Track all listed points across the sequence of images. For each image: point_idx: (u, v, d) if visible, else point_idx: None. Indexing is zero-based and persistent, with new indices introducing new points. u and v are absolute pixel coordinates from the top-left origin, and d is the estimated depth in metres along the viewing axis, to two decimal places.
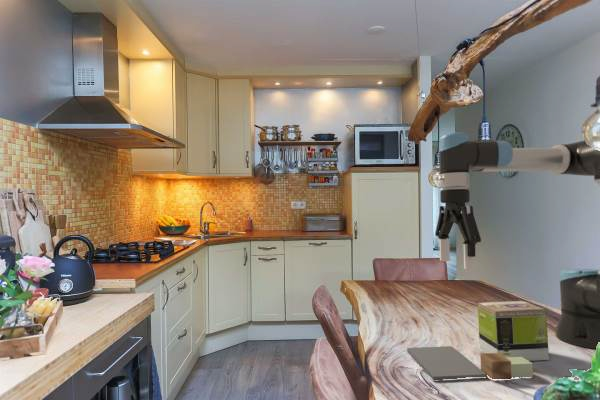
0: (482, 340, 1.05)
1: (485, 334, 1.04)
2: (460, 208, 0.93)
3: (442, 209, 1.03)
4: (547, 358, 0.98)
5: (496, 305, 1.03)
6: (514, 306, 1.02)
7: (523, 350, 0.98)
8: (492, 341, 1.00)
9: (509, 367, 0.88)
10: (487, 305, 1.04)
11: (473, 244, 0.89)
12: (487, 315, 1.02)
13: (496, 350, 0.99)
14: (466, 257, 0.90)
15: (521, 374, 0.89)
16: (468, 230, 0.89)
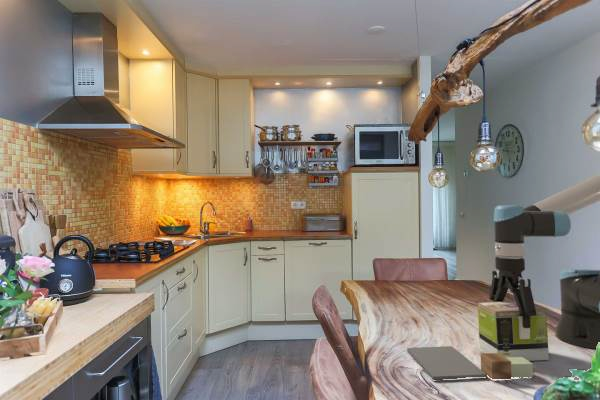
0: (482, 340, 1.05)
1: (485, 334, 1.04)
2: (517, 278, 0.99)
3: (495, 274, 1.09)
4: (547, 358, 0.98)
5: (496, 305, 1.03)
6: (514, 306, 1.02)
7: (523, 350, 0.98)
8: (492, 341, 1.00)
9: (509, 367, 0.88)
10: (487, 305, 1.04)
11: (528, 317, 0.96)
12: (487, 315, 1.02)
13: (496, 350, 0.99)
14: (521, 328, 0.97)
15: (521, 374, 0.89)
16: (525, 304, 0.96)
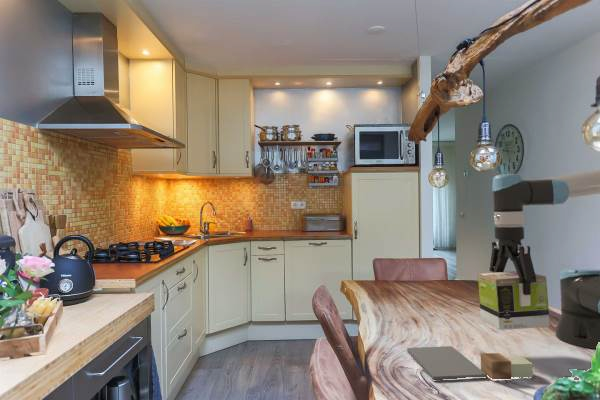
0: (483, 311, 1.05)
1: (486, 304, 1.04)
2: (517, 246, 0.99)
3: (495, 245, 1.09)
4: (548, 325, 0.99)
5: (496, 274, 1.03)
6: (514, 275, 1.02)
7: (524, 317, 0.98)
8: (493, 310, 1.00)
9: (509, 367, 0.88)
10: (487, 275, 1.04)
11: (528, 283, 0.96)
12: (488, 284, 1.02)
13: (497, 319, 0.99)
14: (522, 295, 0.98)
15: (521, 374, 0.89)
16: (525, 270, 0.96)
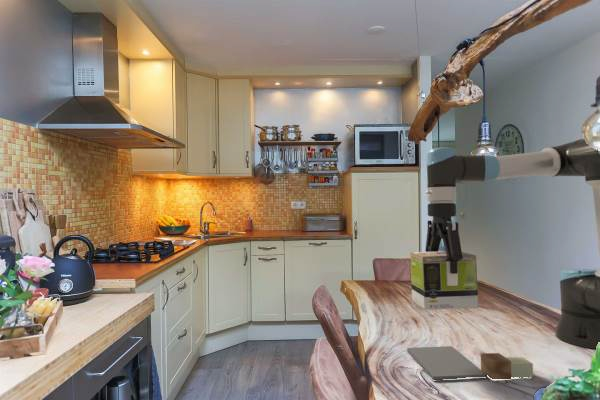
0: (414, 291, 1.00)
1: (415, 283, 0.99)
2: (446, 223, 0.94)
3: (430, 223, 1.04)
4: (476, 306, 0.94)
5: (427, 253, 0.99)
6: (445, 253, 0.97)
7: (451, 297, 0.93)
8: (420, 289, 0.95)
9: (509, 367, 0.88)
10: (418, 253, 0.99)
11: (455, 261, 0.91)
12: (417, 262, 0.98)
13: (423, 298, 0.94)
14: (448, 274, 0.93)
15: (521, 374, 0.89)
16: (451, 247, 0.91)
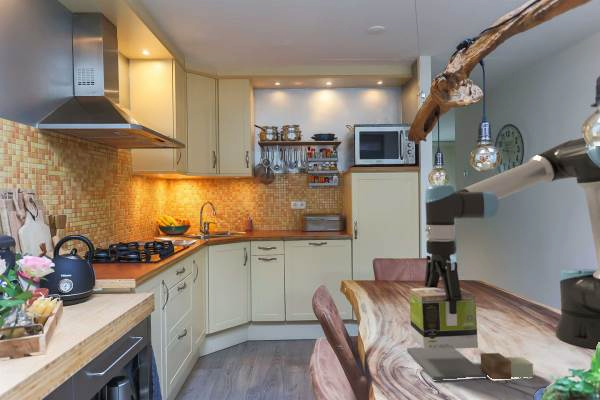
0: (413, 328, 1.00)
1: (414, 321, 0.98)
2: (445, 262, 0.94)
3: (429, 259, 1.04)
4: (476, 346, 0.93)
5: (426, 290, 0.98)
6: (444, 291, 0.96)
7: (450, 337, 0.93)
8: (419, 328, 0.95)
9: (509, 367, 0.88)
10: (417, 290, 0.99)
11: (454, 302, 0.91)
12: (416, 300, 0.97)
13: (422, 338, 0.93)
14: (448, 314, 0.92)
15: (521, 374, 0.89)
16: (450, 288, 0.90)
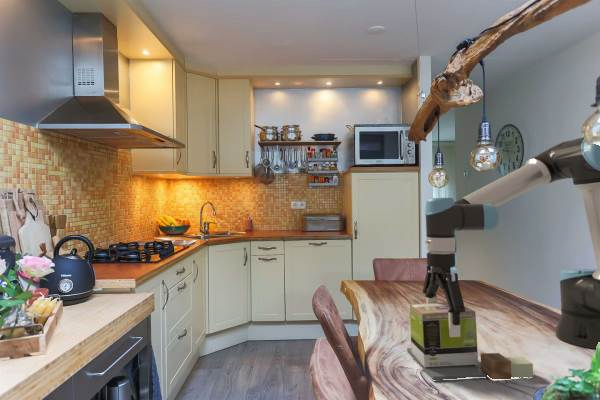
0: (413, 344, 1.00)
1: (415, 337, 0.99)
2: (445, 274, 0.94)
3: (429, 269, 1.04)
4: (476, 363, 0.93)
5: (426, 307, 0.98)
6: (444, 308, 0.97)
7: (451, 354, 0.93)
8: (420, 345, 0.95)
9: (509, 367, 0.88)
10: (417, 307, 0.99)
11: (458, 313, 0.89)
12: (416, 317, 0.97)
13: (423, 355, 0.94)
14: (451, 325, 0.91)
15: (521, 374, 0.89)
16: (453, 299, 0.89)
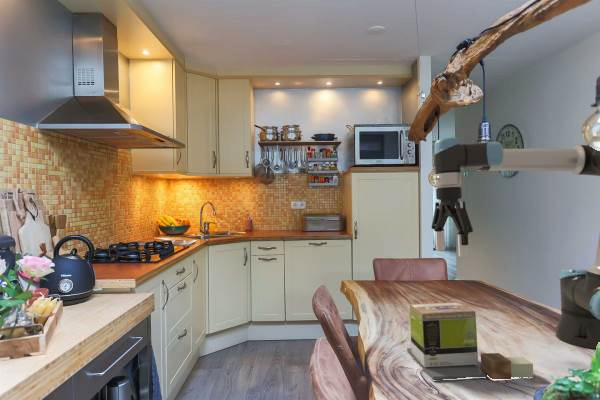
0: (413, 344, 1.00)
1: (415, 337, 0.99)
2: (454, 203, 1.07)
3: (437, 205, 1.17)
4: (476, 363, 0.93)
5: (426, 307, 0.98)
6: (444, 308, 0.97)
7: (451, 354, 0.93)
8: (420, 345, 0.95)
9: (509, 367, 0.88)
10: (417, 307, 0.99)
11: (466, 234, 1.03)
12: (416, 317, 0.97)
13: (423, 355, 0.94)
14: (460, 246, 1.04)
15: (521, 374, 0.89)
16: (462, 222, 1.02)
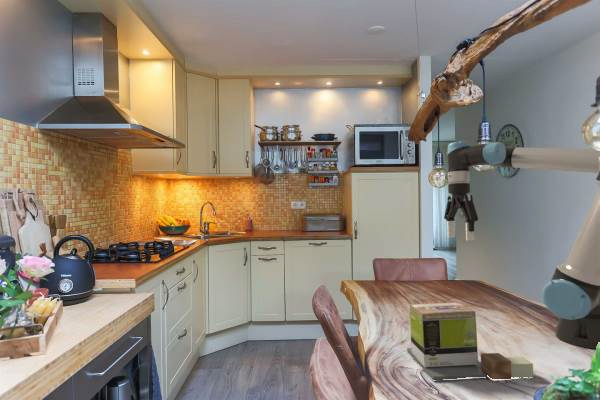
0: (413, 344, 1.00)
1: (415, 337, 0.99)
2: (463, 197, 1.28)
3: (449, 198, 1.37)
4: (476, 363, 0.93)
5: (426, 307, 0.98)
6: (444, 308, 0.97)
7: (451, 354, 0.93)
8: (420, 345, 0.95)
9: (509, 367, 0.88)
10: (417, 307, 0.99)
11: (472, 222, 1.23)
12: (416, 317, 0.97)
13: (422, 355, 0.94)
14: (467, 232, 1.24)
15: (521, 374, 0.89)
16: (469, 212, 1.23)
